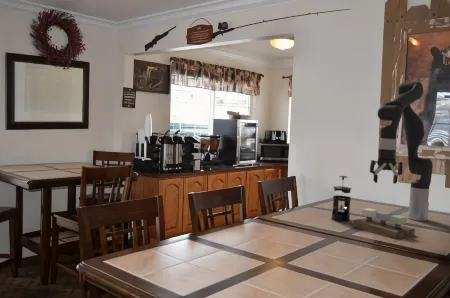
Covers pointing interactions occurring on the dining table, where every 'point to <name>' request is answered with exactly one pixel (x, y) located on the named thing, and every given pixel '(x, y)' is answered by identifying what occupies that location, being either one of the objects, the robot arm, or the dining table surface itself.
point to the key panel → (383, 228)
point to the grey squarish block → (383, 217)
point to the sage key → (398, 220)
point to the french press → (341, 215)
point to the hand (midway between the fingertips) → (385, 183)
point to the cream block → (369, 213)
